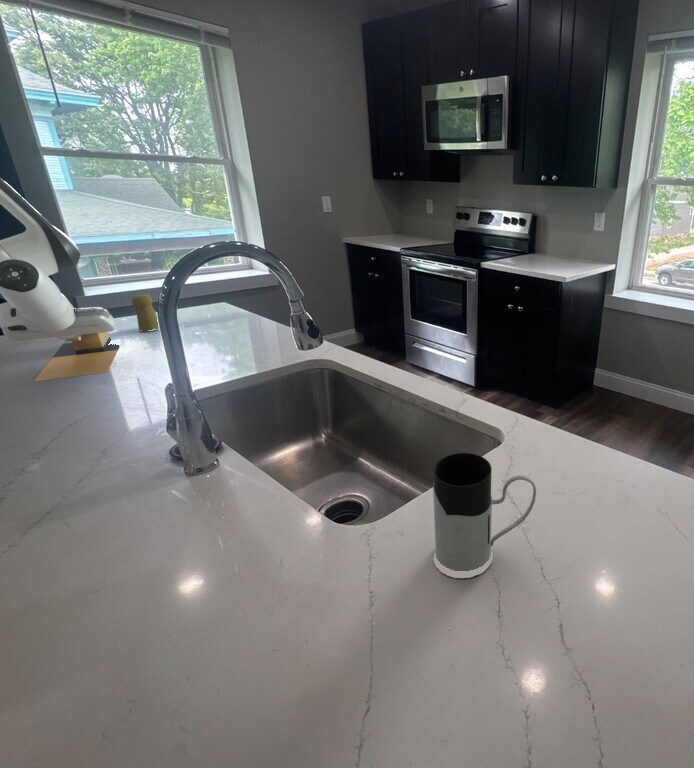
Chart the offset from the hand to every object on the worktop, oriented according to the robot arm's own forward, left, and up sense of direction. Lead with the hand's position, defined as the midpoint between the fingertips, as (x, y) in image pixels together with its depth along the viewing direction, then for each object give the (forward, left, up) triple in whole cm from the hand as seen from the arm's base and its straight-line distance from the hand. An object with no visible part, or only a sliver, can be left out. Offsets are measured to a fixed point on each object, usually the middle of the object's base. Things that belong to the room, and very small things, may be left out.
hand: (73, 338), depth 122 cm
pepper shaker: (+13, +23, -6) cm, 27 cm away
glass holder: (+63, -111, -6) cm, 128 cm away
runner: (0, +2, -6) cm, 6 cm away
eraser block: (+1, +10, -6) cm, 12 cm away
